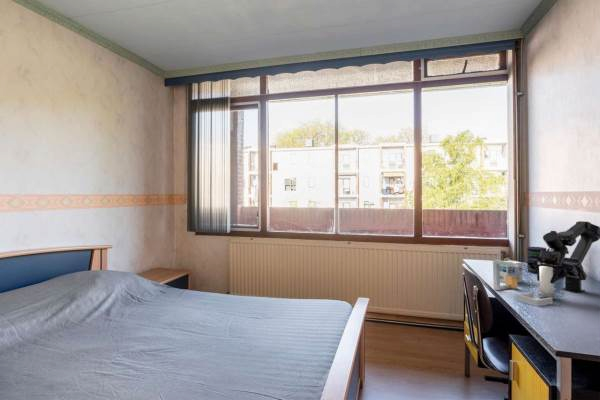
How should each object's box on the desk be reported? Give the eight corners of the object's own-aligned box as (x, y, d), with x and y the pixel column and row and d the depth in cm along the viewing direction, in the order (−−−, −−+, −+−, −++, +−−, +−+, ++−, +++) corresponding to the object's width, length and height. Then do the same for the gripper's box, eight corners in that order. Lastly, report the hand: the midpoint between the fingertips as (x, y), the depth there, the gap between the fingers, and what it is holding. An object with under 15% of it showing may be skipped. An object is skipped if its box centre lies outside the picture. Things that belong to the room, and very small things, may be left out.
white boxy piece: (510, 286, 167) (510, 257, 167) (535, 293, 154) (534, 262, 154) (491, 288, 163) (491, 259, 163) (515, 296, 151) (514, 264, 151)
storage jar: (523, 271, 198) (522, 247, 198) (534, 269, 201) (534, 246, 201) (539, 275, 189) (539, 249, 189) (551, 273, 192) (550, 248, 191)
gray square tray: (531, 297, 149) (531, 292, 149) (552, 303, 140) (552, 298, 140) (516, 299, 146) (516, 294, 146) (536, 306, 137) (536, 300, 137)
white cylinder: (544, 292, 151) (544, 265, 151) (559, 296, 145) (558, 267, 145) (534, 294, 150) (533, 266, 149) (548, 298, 143) (547, 269, 143)
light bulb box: (508, 283, 172) (507, 263, 172) (497, 280, 179) (496, 261, 179) (523, 281, 175) (522, 262, 175) (512, 279, 182) (511, 260, 182)
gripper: (528, 242, 157) (515, 267, 152) (574, 246, 141) (561, 275, 136) (537, 256, 161) (525, 281, 156) (583, 262, 144) (571, 290, 139)
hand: (544, 281), depth 147 cm, fingers closed on white cylinder, 5 cm apart
